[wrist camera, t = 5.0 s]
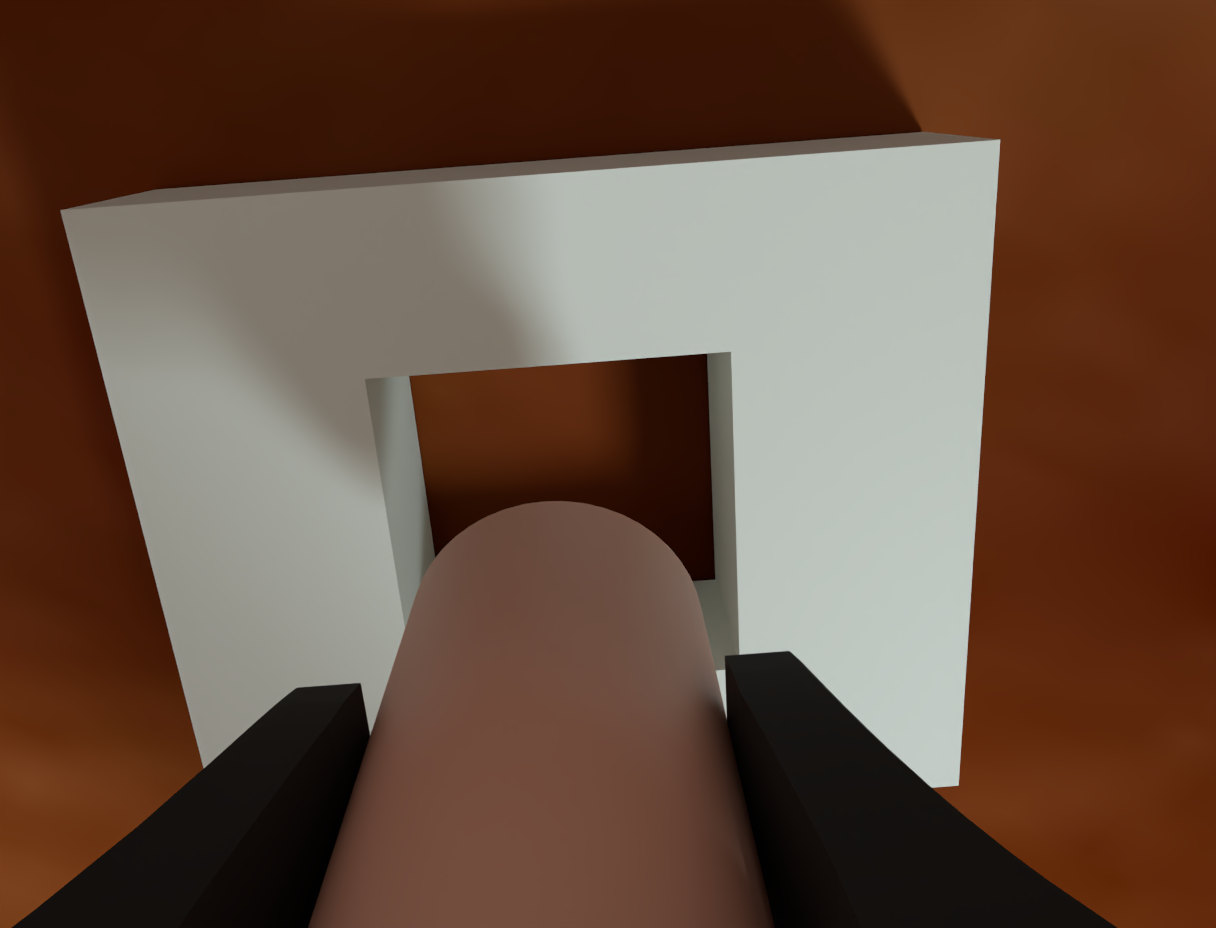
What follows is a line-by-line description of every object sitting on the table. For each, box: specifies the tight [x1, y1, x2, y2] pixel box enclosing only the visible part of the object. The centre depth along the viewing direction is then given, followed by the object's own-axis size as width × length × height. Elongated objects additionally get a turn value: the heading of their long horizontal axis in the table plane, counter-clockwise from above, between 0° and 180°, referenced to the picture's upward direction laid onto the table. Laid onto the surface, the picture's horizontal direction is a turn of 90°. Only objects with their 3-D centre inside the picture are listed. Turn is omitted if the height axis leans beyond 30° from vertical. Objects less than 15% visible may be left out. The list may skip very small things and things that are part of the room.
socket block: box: [60, 132, 1000, 788], centre depth 16 cm, size 12×10×3 cm
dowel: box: [308, 501, 775, 928], centre depth 8 cm, size 3×3×8 cm
